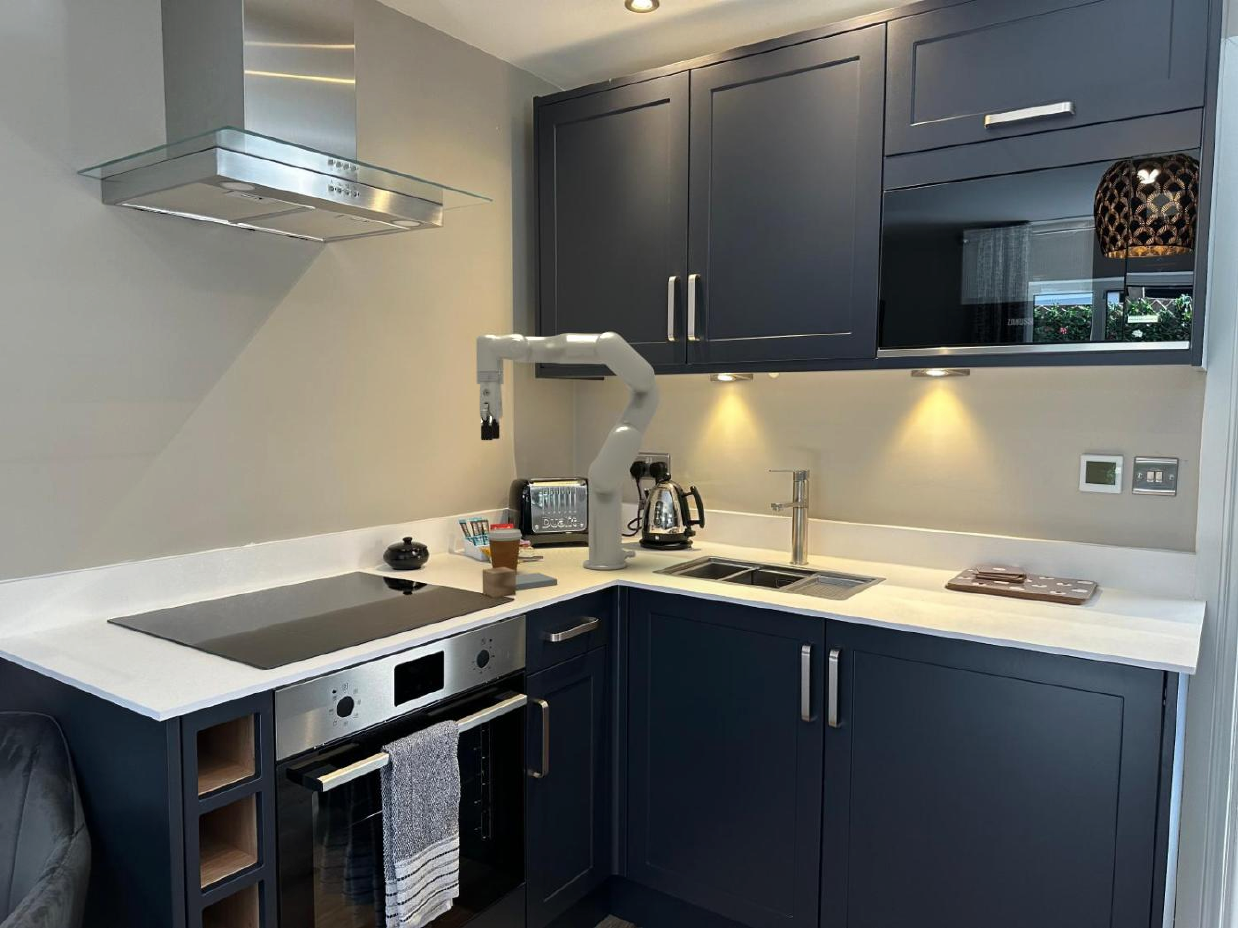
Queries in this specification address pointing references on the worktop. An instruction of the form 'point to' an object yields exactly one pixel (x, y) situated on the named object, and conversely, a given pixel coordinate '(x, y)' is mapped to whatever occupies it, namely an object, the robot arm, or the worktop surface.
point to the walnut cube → (499, 582)
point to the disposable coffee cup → (504, 547)
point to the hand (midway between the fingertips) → (490, 439)
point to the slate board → (534, 581)
